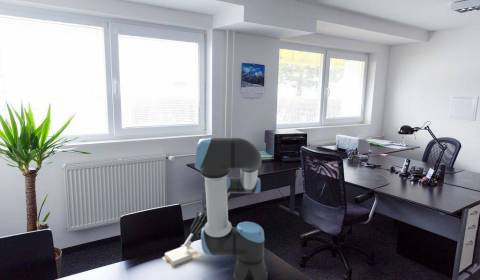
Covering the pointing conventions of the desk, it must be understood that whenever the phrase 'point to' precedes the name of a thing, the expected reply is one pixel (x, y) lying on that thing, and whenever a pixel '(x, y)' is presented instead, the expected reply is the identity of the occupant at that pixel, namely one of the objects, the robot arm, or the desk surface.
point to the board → (194, 256)
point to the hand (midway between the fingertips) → (185, 246)
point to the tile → (178, 255)
